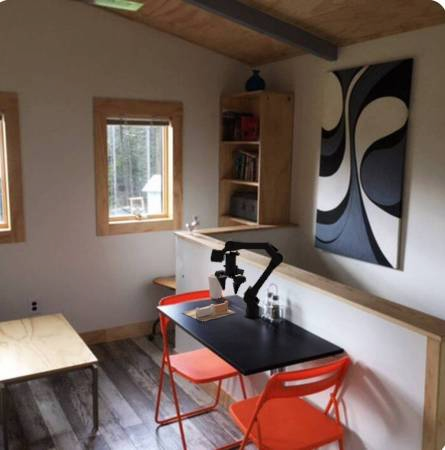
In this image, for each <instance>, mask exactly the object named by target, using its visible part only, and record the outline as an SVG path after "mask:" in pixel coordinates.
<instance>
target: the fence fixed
mask: <svg viewBox="0 0 445 450" xmlns="http://www.w3.org/2000/svg"><path fill="white" fill-rule="evenodd" d="M214 305H215V304H213V303H211V304H210V305H208V306H209V307H207V306H204V307H205V308H203V307H196V308H195V309H196V318H199V317H203V316H206V315H210V314H211V315H214ZM199 308H201V309H199Z"/></svg>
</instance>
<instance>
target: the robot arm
mask: <svg viewBox="0 0 445 450" xmlns="http://www.w3.org/2000/svg"><path fill="white" fill-rule="evenodd" d="M240 250H264V251H265V252H266V253H267V254H268V256H269V257H270V260H269V264H268V266H267V267H266V268H265V269H264V271H263V272H262V274H261V275H260V277H259V278H258V279H257V281H256V282H255V283H254V284H253V285H252V286H251V285H249V286H248V287H247V288H246V290H245V291H244V292H243V297H242V299H243V302H244V303H245V304H246V307H245V314H244V315H243V317H244V318H247V319H250V320H255V319H256V320H257V319H260V318H261V317H262V316H261V315H260V306H259V305H260V302H261V300H260V298H259V297H258V293H259V292H260V289H261V288H262V287H263V286H264V284H265V282H266V281H267V280H268V278H269V277H270V276H271V274H272V273H273V272H274V270H276V269H277V267H279V266H280V265H281V264H282V263H283V261H284V260H285V258H286V256H285V253H284V251H282V250H279V248H278V247H276V246H274V245H273V244H272V243H271V242H270V241H269V240H266V241H264V240H263V241H256V240H255V241H249V240H246V241H245V240H244V241H243V240H240V239H235V238H229V239H228V240H227V241H226V242H225V243H224V247H223V248H222V249H217V248H213V249H212V250H211V252H210V253H211V254H210V262H211V263H223V262H224V264H223V265H222V266H223V268H224V269H220V270H216V271H214V274H215V277H216V278H217V279H218V281H219V283H220V285H221V287H222V292H224V291H225V290H226V284H227V283H226V281H227V279H228V278H229V279H231V280H232V281H233V282H232V287H233V293H234V295H237V294H238V292H239V289H240V287H241V286H242V284H244V283H247V277H246V276H245V275H244V273H245V269H243V268H239V266H238V264H237V257H239V256H241V253H240V252H239V251H240Z"/></svg>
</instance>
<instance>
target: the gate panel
mask: <svg viewBox="0 0 445 450" xmlns="http://www.w3.org/2000/svg"><path fill="white" fill-rule="evenodd" d="M227 310H229V301H228V300H225V301H224V302H223V303H219V304H214V313H218V312H222V311H227Z"/></svg>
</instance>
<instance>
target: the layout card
mask: <svg viewBox="0 0 445 450" xmlns="http://www.w3.org/2000/svg"><path fill="white" fill-rule="evenodd" d="M209 306H210V305H207V306H203V307H198V308H199V309H201V308H205V307H209ZM182 313H183V315H184V316H187V315H188V316H187V317H189V316H190V318H192V319H194V320H196V319H197V321H199V322H201V321H202V323H204V322H207V321H211V319H212V320H216V319H220V318H222V317H227V316H231V315H235V314H237V312H236V311H233V310H230V309H228V310H227V311H222V312H218V313H214V315H211V314H210V315H206V316H203V317H199V318H196V308H195V309H190V310H186V311H182V312H181V314H182ZM203 321H204V322H203Z"/></svg>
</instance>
